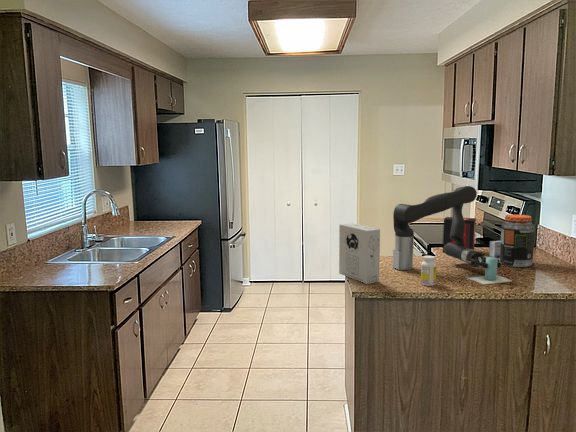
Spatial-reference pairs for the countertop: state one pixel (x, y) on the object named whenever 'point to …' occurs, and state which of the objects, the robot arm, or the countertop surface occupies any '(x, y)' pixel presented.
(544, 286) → the countertop surface
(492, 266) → the teal wooden pin
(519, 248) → the supplement tub
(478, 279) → the mat
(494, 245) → the medicine box
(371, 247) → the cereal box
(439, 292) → the countertop surface
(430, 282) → the supplement bottle
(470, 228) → the cleaning product box
